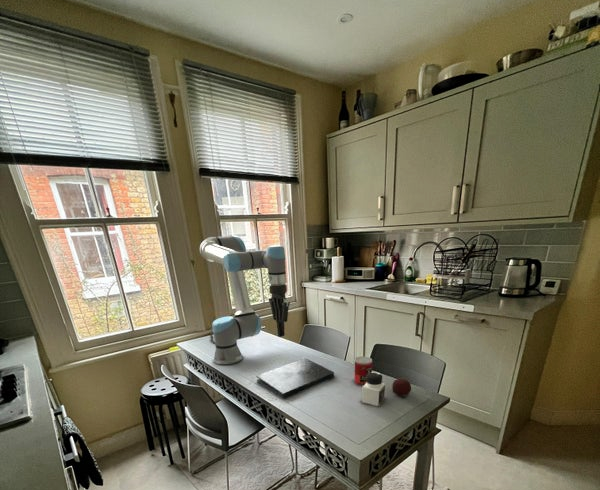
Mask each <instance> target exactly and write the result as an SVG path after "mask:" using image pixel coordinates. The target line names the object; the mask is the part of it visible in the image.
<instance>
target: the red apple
mask: <svg viewBox="0 0 600 490" xmlns="http://www.w3.org/2000/svg"><path fill="white" fill-rule="evenodd" d="M391 390H392V393H393V394H394V395H395V396H397V397H405V396H407V395H409V394H410V393H411V391H412V385H411V382H410V381H409V380H407V379H406V378H398V379H395V380H394V381H393V382H392V385H391Z"/></svg>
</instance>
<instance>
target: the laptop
mask: <svg viewBox="0 0 600 490" xmlns="http://www.w3.org/2000/svg"><path fill="white" fill-rule="evenodd" d="M333 378H335V373H334V374H332V375H330V376H327V377H325V378H323V379H320V380H318V381H316V382H313V383H311V384H308V385H306V386H304V387H301V388H299V389H297V390H294V391H292V392H290V393H287V394H285V395H282V394H281V393H279V392H278V391H276V390H275V389H273V388H272V387H270V386H269V385H268V384H266V383H265V382H263V381H262V380H260V379H259V378H257V379H256V384H258V385H260V386H261V387H263V388H264V389H266V390H268V391H270V392H271V393H273V394H274V395H275V396H278V397H279V398H281V399H283V400H286V399H287V398H289V397H292V396H294V395H297V394H299V393H301V392H304V391H306V390H309V389H310V388H312V387H315V386H317V385H320V384H322V383H324V382H327V381H329V380H331V379H333Z"/></svg>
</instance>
